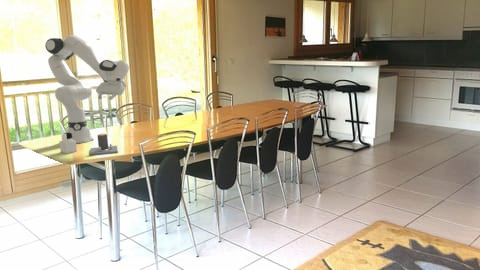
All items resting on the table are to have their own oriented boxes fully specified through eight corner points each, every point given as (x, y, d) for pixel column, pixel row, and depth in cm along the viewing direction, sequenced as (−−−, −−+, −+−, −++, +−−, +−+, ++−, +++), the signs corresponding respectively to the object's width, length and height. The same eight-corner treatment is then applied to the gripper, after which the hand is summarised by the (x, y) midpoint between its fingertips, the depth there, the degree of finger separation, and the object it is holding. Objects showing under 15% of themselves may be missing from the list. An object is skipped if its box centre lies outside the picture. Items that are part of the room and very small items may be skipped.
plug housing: (98, 149, 264) (97, 134, 262) (103, 148, 267) (102, 133, 265) (103, 150, 262) (102, 135, 260) (108, 148, 266) (106, 133, 264)
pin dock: (90, 149, 270) (90, 143, 269) (116, 147, 275) (116, 141, 274) (90, 155, 255) (89, 149, 254) (117, 152, 260) (117, 146, 259)
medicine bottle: (71, 150, 271) (68, 131, 269) (77, 151, 267) (74, 132, 264) (60, 152, 266) (58, 133, 263) (66, 153, 261) (64, 134, 259)
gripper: (99, 78, 280) (89, 95, 273) (123, 79, 271) (113, 96, 264) (105, 84, 285) (95, 101, 278) (128, 85, 275) (119, 102, 269)
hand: (104, 99), depth 271 cm, fingers open, 8 cm apart
